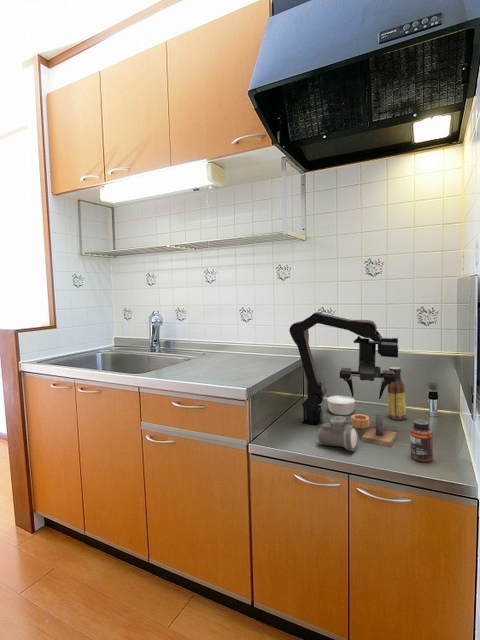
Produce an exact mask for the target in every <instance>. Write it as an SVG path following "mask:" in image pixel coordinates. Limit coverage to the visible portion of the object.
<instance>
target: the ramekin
mask: <svg viewBox="0 0 480 640" xmlns="http://www.w3.org/2000/svg"><path fill="white" fill-rule="evenodd" d="M326 402H327V405H328V410H329V411H330V412H331V413H332V414H334V415H335V416H349V415H351V414H352V413H354V409H355V404H356V400H355V398H354V397H352V396H346V395H331V396H328V397H327V399H326Z"/></svg>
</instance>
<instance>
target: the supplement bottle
mask: <svg viewBox="0 0 480 640" xmlns="http://www.w3.org/2000/svg"><path fill="white" fill-rule="evenodd" d="M429 426H430V423H429V421H427V420H425V419H421V418H420V419H415V420H413V426H412V427H410V437H409V438H410V457H411V458H412V459H413V460H414V461H417V462H421V463H427V462H431V461H433V456H434V455H433V430H432V429H431V428H430V427H429Z"/></svg>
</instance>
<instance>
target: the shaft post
mask: <svg viewBox="0 0 480 640" xmlns="http://www.w3.org/2000/svg"><path fill="white" fill-rule="evenodd" d="M361 438H362V439H361V440H362V442H366V443H371V444H374V445H381V446H385V447H390V448H391V447H392V445H393V444H394V441H395V440H396V438H397V432H396V431H390V430H384V415H382V414H376V415H375V428H373V427H368V428H367V430H366V431H365V432H364V434H363V435H362V436H361Z"/></svg>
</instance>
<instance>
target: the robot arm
mask: <svg viewBox="0 0 480 640" xmlns="http://www.w3.org/2000/svg"><path fill="white" fill-rule="evenodd" d="M317 324H319V325H324V326H328V327H332V328H336V329H341V330H346V331H349V332H351V333H353V334H355V335H357V338H356V339H354V340H353V343H354V344H358V370H357V371H356V370H352V368H351V367H340V370H339V378H340V379H343V381H344V382H346V384H347V385H348V387H349V390H350V391H349V392H350V393H351V398H354V394H355V393H354V384H353V383H354V382H353V377H359V380H360V381H364V382H365V381H369V382H374V381H375V379H380V386H379V393H378V399H379V400H380V399H382V396H383V394H384V391H385V389H386V387H388V384H391V382H395V373H394V372H393V371H389V370H387V369H385V370H384V369H382V372H381V366H376V357H377V354H378V355H380V357H384V358H399V338H398V337H392V338H391V337H383V336H382V335H381V333H380V332H379V331H378V330H377V329H378V327H377V324H376V323H375V321H373V320H369V319H349V318H345V317H341V316H335V315H330V314H327V313H326V314H325V313H322V312H320V311H316V312H314V313H312V314H311V315H310V316H309V317H307V318H305V319H303V320H301V321H297V322H296V321H295V322H294V323H293V324H291V325H290V327H289V329H288V330H289V335H290V336H291V338H292V341H293V342H294V344H295V345H296V346H297V349H298V354H299V356H300V357H299V358H300V361H301V364H302V368H303V371H304V375H305V378H306V383H307V384H306V395H307V396H306V398H305V400H303V402H301V405H302V413H303V414H302V415H303V419H302V420H301V423H303V424H309V425H314V426H318V425H320V423H322V421H324V418H323V413H324V411H323V409H322V405H321V404H322V402H324V399H325V398H326V396H327V392H328V390H327V387H326V383H325V381H321V380H320V379H319V377H318V373H317V369H316V366H315V361H314V358H313V355H312V351H311V347H310V342H309V341H310V340H309V339H310V335H309V334H310V333H309V330H310V329H311V328H313V327H314V326H316V325H317Z"/></svg>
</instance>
